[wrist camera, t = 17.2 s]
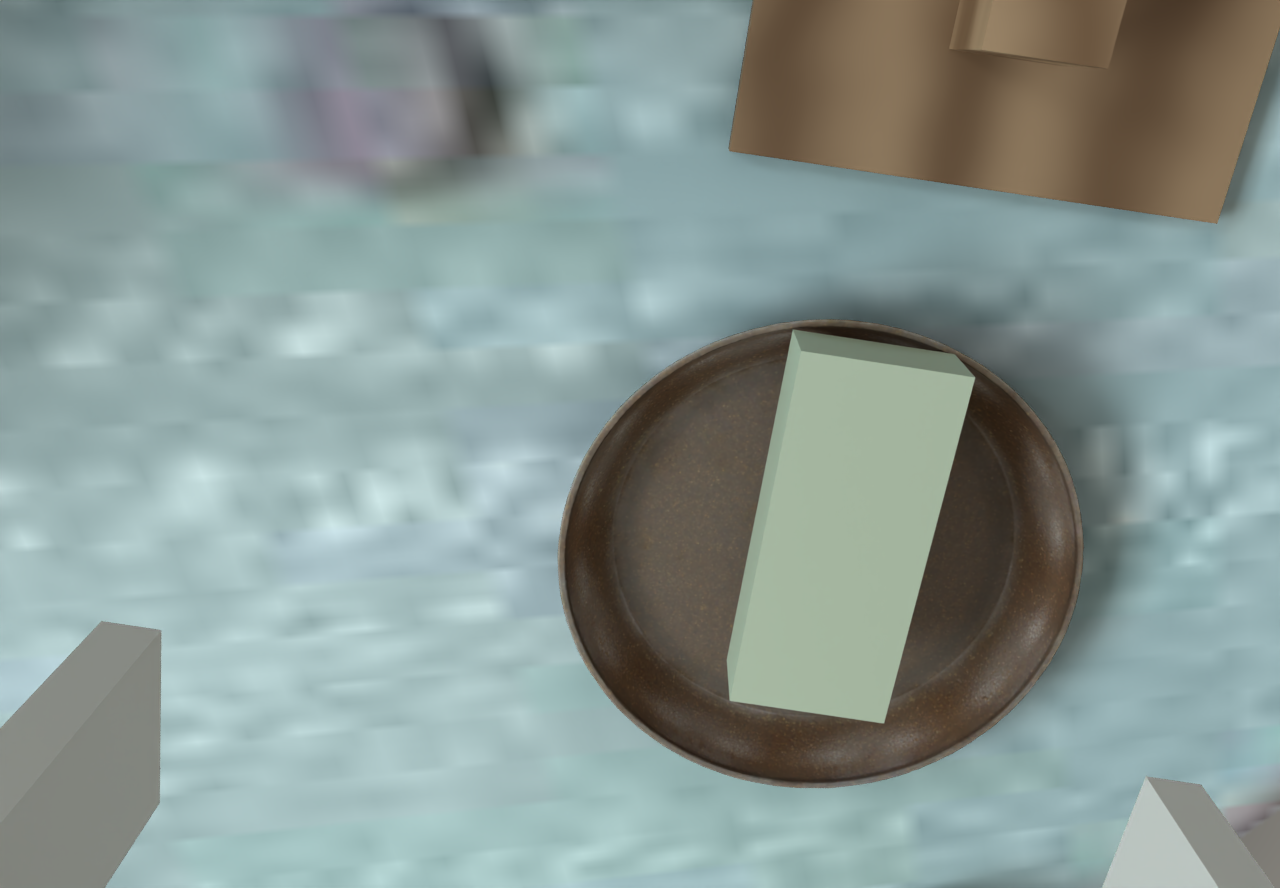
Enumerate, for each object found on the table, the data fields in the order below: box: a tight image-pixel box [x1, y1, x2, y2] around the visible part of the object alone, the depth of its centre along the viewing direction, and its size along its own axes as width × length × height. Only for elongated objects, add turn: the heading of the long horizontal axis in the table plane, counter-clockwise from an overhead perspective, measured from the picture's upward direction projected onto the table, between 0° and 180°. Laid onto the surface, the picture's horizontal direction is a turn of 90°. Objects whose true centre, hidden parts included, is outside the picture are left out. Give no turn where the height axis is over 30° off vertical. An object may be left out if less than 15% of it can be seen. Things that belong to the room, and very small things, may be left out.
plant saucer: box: [558, 319, 1084, 788], centre depth 45 cm, size 21×21×3 cm
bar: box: [727, 330, 975, 723], centre depth 41 cm, size 6×14×3 cm, turn 172°
